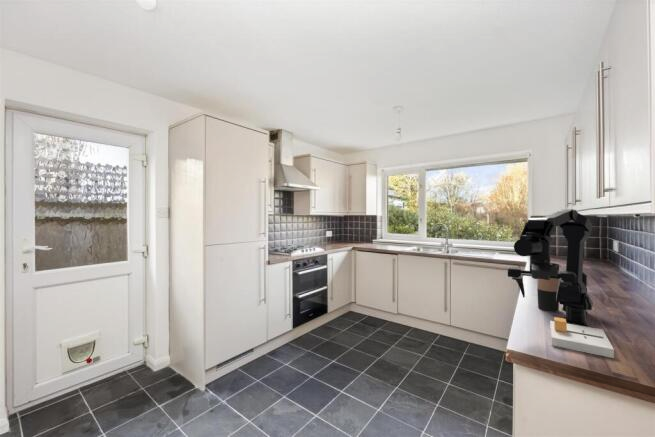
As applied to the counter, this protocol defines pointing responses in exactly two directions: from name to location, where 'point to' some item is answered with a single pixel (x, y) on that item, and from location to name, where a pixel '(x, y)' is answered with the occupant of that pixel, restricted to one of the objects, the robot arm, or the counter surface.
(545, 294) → the travel mug
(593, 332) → the fader console
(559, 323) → the fader knob
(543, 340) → the counter surface
